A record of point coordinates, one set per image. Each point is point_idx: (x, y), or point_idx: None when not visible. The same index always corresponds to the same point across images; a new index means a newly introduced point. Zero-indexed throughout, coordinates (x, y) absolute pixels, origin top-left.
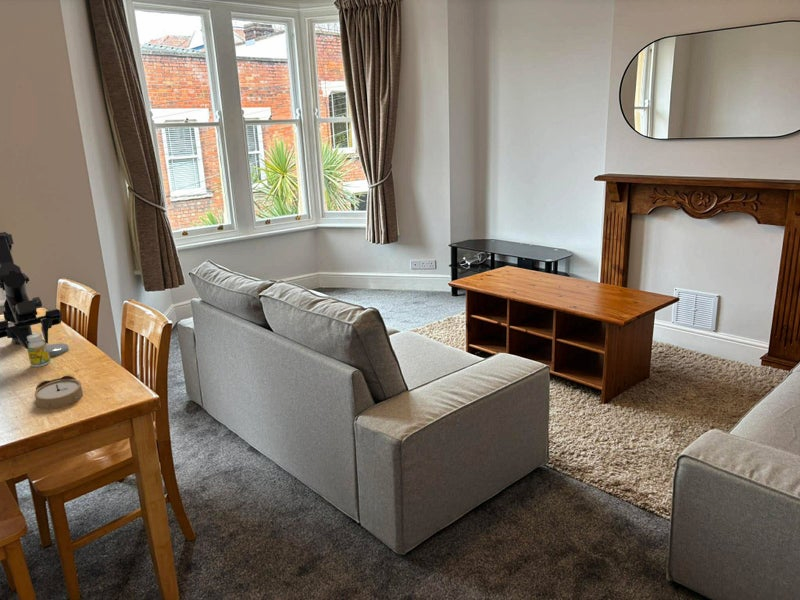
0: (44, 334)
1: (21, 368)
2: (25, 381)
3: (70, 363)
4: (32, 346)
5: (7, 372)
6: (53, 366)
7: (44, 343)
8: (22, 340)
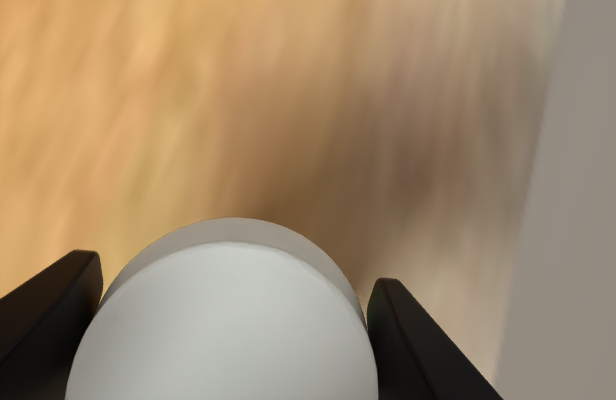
0: (11, 351)
1: None
2: (443, 39)
3: (72, 98)
4: (319, 249)
5: (489, 363)
6: (194, 158)
7: (140, 252)
8: (457, 372)
